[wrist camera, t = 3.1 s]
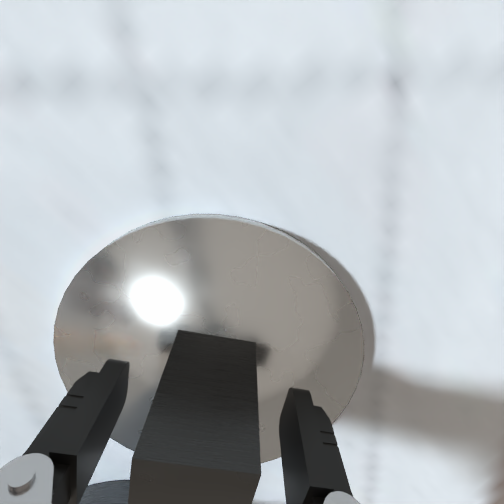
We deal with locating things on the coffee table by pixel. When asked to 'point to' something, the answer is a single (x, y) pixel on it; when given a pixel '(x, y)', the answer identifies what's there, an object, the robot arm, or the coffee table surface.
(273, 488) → the coffee table surface
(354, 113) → the coffee table surface
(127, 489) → the pot
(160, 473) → the lid
